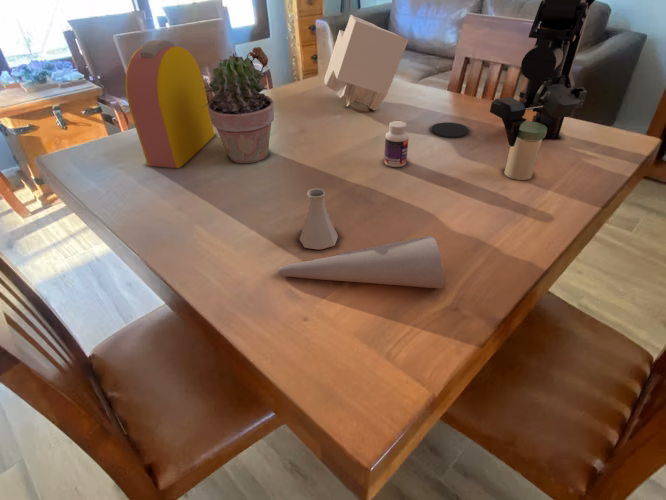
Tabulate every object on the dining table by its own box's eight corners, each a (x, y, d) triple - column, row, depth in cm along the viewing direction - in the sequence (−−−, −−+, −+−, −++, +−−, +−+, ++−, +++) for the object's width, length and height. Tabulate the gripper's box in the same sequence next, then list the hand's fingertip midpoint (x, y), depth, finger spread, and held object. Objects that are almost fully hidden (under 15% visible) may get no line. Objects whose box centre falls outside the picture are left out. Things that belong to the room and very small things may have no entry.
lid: (548, 140, 89) (551, 133, 88) (515, 139, 90) (517, 132, 89) (540, 128, 94) (542, 121, 93) (509, 127, 95) (511, 120, 94)
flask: (299, 229, 82) (295, 183, 76) (336, 226, 83) (335, 181, 77) (299, 252, 77) (295, 204, 71) (339, 249, 77) (339, 201, 71)
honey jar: (526, 167, 100) (538, 124, 94) (535, 180, 96) (548, 135, 89) (500, 168, 101) (511, 125, 94) (508, 180, 96) (519, 136, 89)
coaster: (465, 124, 122) (466, 122, 122) (470, 138, 114) (470, 136, 114) (430, 123, 123) (430, 122, 123) (432, 137, 116) (432, 135, 115)
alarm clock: (186, 132, 122) (161, 31, 106) (215, 134, 121) (194, 31, 105) (146, 165, 106) (109, 51, 90) (179, 168, 104) (148, 52, 88)
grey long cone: (268, 286, 63) (444, 261, 62) (272, 249, 70) (431, 227, 68) (280, 320, 68) (443, 299, 66) (283, 283, 75) (431, 263, 73)
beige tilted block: (320, 88, 143) (345, 7, 129) (364, 101, 147) (393, 25, 133) (326, 110, 127) (355, 20, 113) (375, 124, 132) (408, 39, 118)
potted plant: (192, 159, 108) (167, 53, 93) (253, 135, 120) (239, 37, 104) (235, 181, 99) (215, 67, 83) (297, 153, 110) (289, 48, 94)
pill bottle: (405, 168, 102) (409, 129, 96) (382, 166, 102) (385, 127, 97) (407, 158, 106) (410, 120, 100) (385, 157, 107) (387, 119, 101)
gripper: (535, 85, 75) (514, 165, 85) (617, 73, 80) (588, 150, 90) (496, 69, 84) (481, 144, 93) (572, 59, 88) (550, 131, 98)
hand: (526, 143), depth 93 cm, fingers open, 7 cm apart
